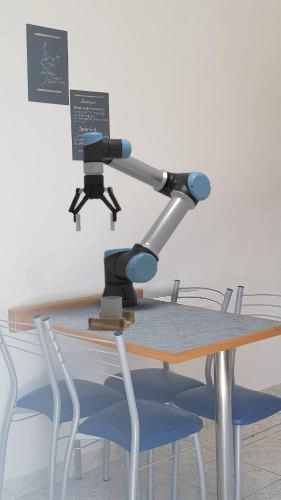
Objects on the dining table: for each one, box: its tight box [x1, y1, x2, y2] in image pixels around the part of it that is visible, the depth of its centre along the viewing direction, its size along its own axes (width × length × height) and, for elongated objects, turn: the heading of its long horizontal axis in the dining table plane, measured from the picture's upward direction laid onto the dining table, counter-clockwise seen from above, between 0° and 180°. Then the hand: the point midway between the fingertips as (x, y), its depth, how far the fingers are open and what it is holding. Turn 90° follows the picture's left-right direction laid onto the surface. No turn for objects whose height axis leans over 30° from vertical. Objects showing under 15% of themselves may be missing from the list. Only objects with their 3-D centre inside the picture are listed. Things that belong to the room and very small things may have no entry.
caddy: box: [87, 310, 135, 331], centre depth 224 cm, size 15×12×4 cm
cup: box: [100, 296, 123, 319], centre depth 224 cm, size 7×10×9 cm
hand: (95, 231), depth 245 cm, fingers open, 13 cm apart
